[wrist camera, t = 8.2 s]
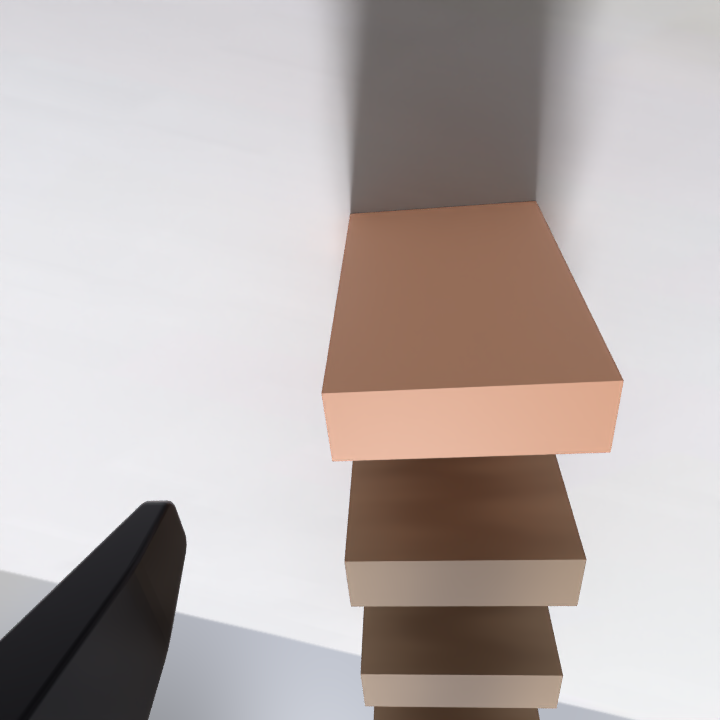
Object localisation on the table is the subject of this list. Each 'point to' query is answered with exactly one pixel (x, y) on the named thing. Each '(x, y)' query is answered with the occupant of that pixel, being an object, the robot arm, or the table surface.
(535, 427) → the domino
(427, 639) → the domino
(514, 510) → the domino
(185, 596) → the table surface
